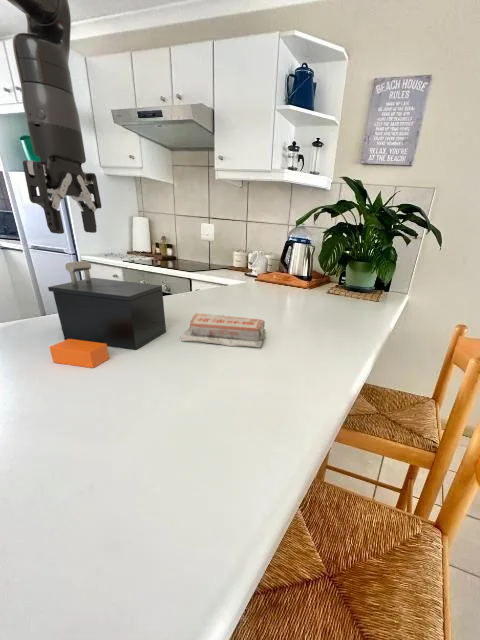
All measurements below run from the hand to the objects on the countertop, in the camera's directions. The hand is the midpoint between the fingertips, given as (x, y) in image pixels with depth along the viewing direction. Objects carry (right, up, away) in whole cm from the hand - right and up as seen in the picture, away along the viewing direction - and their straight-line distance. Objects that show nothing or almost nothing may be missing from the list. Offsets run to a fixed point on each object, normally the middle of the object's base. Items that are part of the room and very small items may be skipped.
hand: (75, 232), depth 61 cm
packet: (+3, -24, -3) cm, 25 cm away
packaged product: (+26, -18, +14) cm, 35 cm away
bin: (+3, -18, +10) cm, 21 cm away
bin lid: (+3, -9, +6) cm, 11 cm away
